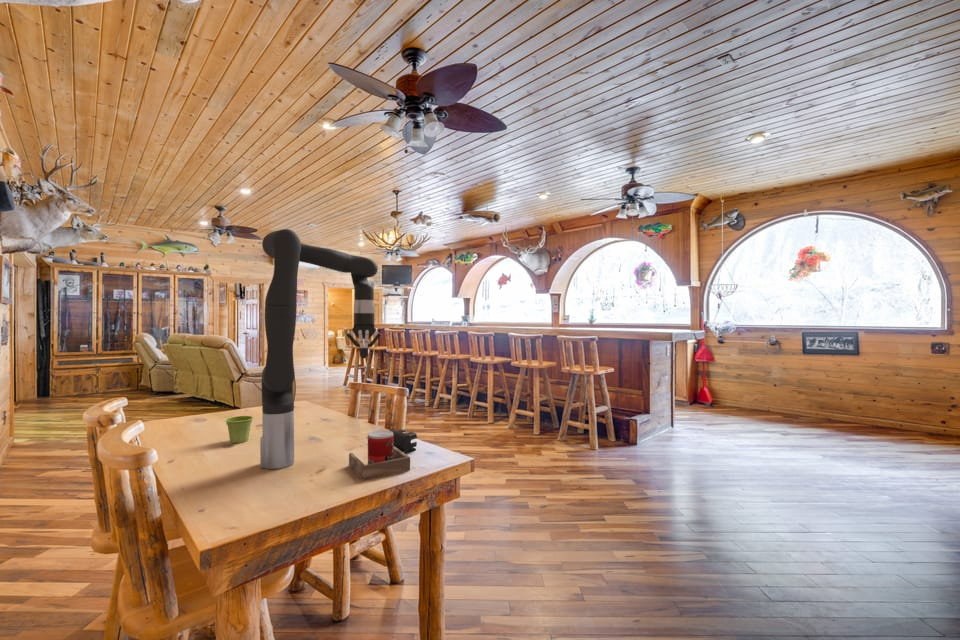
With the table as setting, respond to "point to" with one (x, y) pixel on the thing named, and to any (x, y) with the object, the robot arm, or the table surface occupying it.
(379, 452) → the canned food
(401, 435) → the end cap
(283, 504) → the table surface
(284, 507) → the table surface
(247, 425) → the plant pot
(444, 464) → the table surface
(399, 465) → the tray
